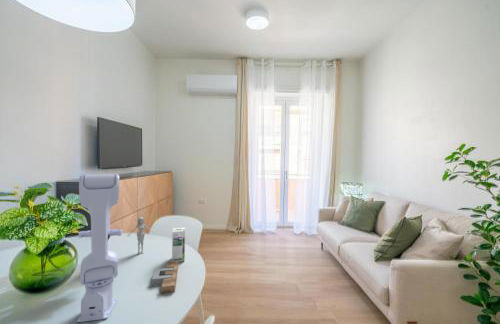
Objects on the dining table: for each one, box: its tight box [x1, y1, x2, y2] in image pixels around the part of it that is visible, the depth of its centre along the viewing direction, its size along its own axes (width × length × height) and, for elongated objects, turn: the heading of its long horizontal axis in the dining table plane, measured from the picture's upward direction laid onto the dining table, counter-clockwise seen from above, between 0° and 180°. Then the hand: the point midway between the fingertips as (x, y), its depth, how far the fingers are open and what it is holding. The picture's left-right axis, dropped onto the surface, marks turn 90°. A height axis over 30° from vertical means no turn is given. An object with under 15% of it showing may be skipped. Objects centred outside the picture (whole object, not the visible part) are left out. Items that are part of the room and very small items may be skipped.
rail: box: [161, 260, 179, 294], centre depth 93 cm, size 20×4×2 cm, turn 14°
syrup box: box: [171, 227, 186, 263], centre depth 110 cm, size 6×6×14 cm
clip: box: [151, 267, 173, 287], centre depth 92 cm, size 8×7×2 cm
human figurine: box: [126, 216, 153, 255], centre depth 116 cm, size 12×4×18 cm, turn 126°
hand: (101, 254), depth 89 cm, fingers closed
